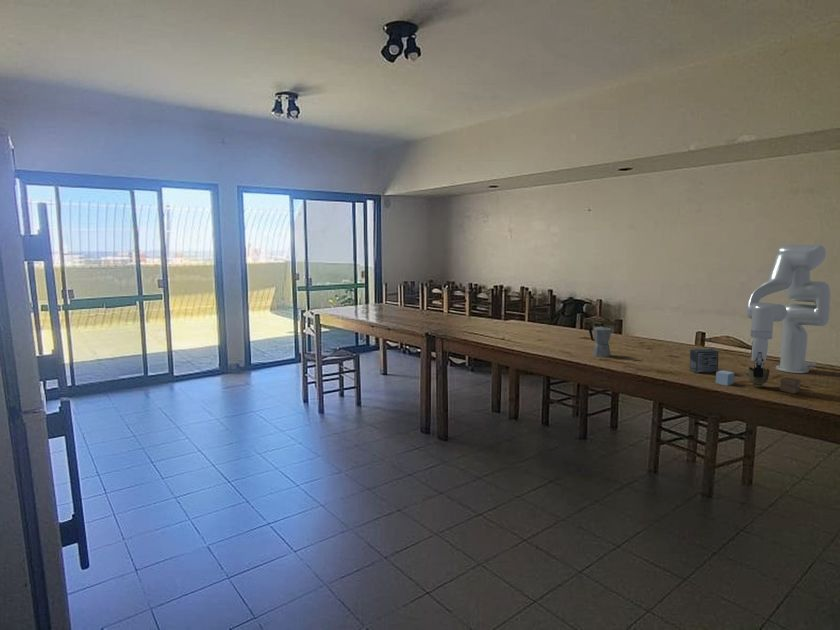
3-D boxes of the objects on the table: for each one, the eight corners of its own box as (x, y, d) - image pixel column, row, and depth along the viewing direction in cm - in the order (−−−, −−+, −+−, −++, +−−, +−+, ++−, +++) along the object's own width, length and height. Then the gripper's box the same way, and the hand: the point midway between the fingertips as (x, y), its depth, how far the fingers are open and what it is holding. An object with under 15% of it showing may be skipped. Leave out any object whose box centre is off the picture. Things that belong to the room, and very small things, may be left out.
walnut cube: (786, 388, 212) (787, 377, 211) (799, 391, 208) (800, 379, 207) (779, 390, 209) (780, 378, 209) (793, 393, 205) (794, 381, 204)
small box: (710, 369, 245) (711, 348, 244) (718, 372, 239) (719, 351, 237) (688, 370, 245) (689, 348, 243) (696, 373, 238) (697, 351, 237)
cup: (763, 384, 218) (764, 366, 216) (771, 389, 210) (773, 371, 209) (744, 384, 219) (745, 366, 218) (752, 389, 212) (753, 370, 211)
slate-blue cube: (722, 381, 225) (722, 370, 224) (733, 383, 220) (734, 372, 220) (715, 383, 222) (716, 371, 222) (727, 385, 218) (727, 374, 217)
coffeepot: (617, 356, 277) (618, 323, 275) (606, 358, 272) (607, 325, 270) (593, 351, 290) (594, 320, 287) (582, 353, 285) (583, 322, 282)
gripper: (751, 331, 221) (748, 369, 223) (750, 336, 206) (746, 377, 209) (772, 332, 216) (769, 371, 219) (772, 338, 202) (768, 380, 204)
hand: (758, 374), depth 214 cm, fingers open, 9 cm apart
